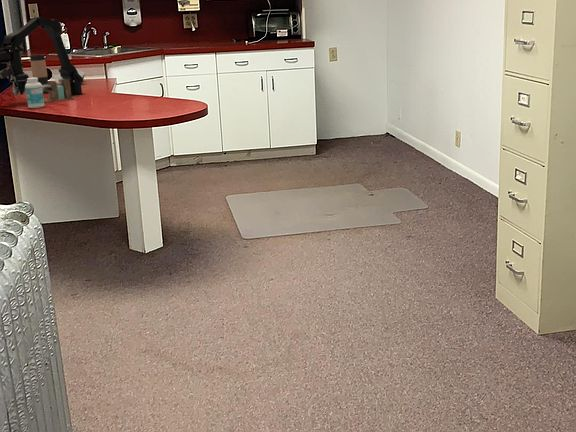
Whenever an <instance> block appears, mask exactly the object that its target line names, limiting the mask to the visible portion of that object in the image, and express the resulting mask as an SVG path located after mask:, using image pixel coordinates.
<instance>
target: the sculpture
mask: <svg viewBox="0 0 576 432" xmlns="http://www.w3.org/2000/svg"><path fill="white" fill-rule="evenodd" d="M76 70H77V71H78V74H79V75H80V76H81V77H82V78H83V80H84V79H85V73H86V72H85V71H82V70H80V69H78V68H76ZM51 76H52V77H53V78H54V79H53V80H54V82H57V84H61V81H60V80H64V79H63V78H62V77H61V75H60V73H58V74H52V73H51ZM73 81H74V80H73Z"/></svg>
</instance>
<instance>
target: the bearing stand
mask: <svg viewBox="0 0 576 432" xmlns="http://www.w3.org/2000/svg"><path fill="white" fill-rule="evenodd" d="M60 81H61V83H60V85H61V86H63V89H64V97H65V98H63V99H59V97H58V90H57V86H58V83H57V82H55V81H53V80H50V81H49V80H48V81H47V82H48V84H51V89H52V90H49V93H48V95H49V97H48V98H46V97H45V98H44V103H49V102H58V101H59V102H61V101H67V100H68V101H69V100H75V99H76V97H74V96H73V95H71V88H70V81H69V80H68V81H66V80H60Z"/></svg>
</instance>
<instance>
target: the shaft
mask: <svg viewBox="0 0 576 432" xmlns="http://www.w3.org/2000/svg"><path fill="white" fill-rule="evenodd" d="M42 90H43V91H47V90H52V89H51V84H45V85H42ZM12 93H13V96H18V95H20V94H19V93H20V92H19V89H18V87H16V86H14V85H13V86H12ZM23 94H26V89H24V92H23Z"/></svg>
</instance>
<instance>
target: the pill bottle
mask: <svg viewBox="0 0 576 432" xmlns="http://www.w3.org/2000/svg"><path fill="white" fill-rule="evenodd" d="M25 89H26V93H25V94H26V95H25V96H26V101H27V107H28V108H30V109H38V108H43V107H45V102H44V99H45V98H44V94H43V90H42V84H41V83H39V82H38V78H33V77H29V78H27V83H26V85H25Z"/></svg>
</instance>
